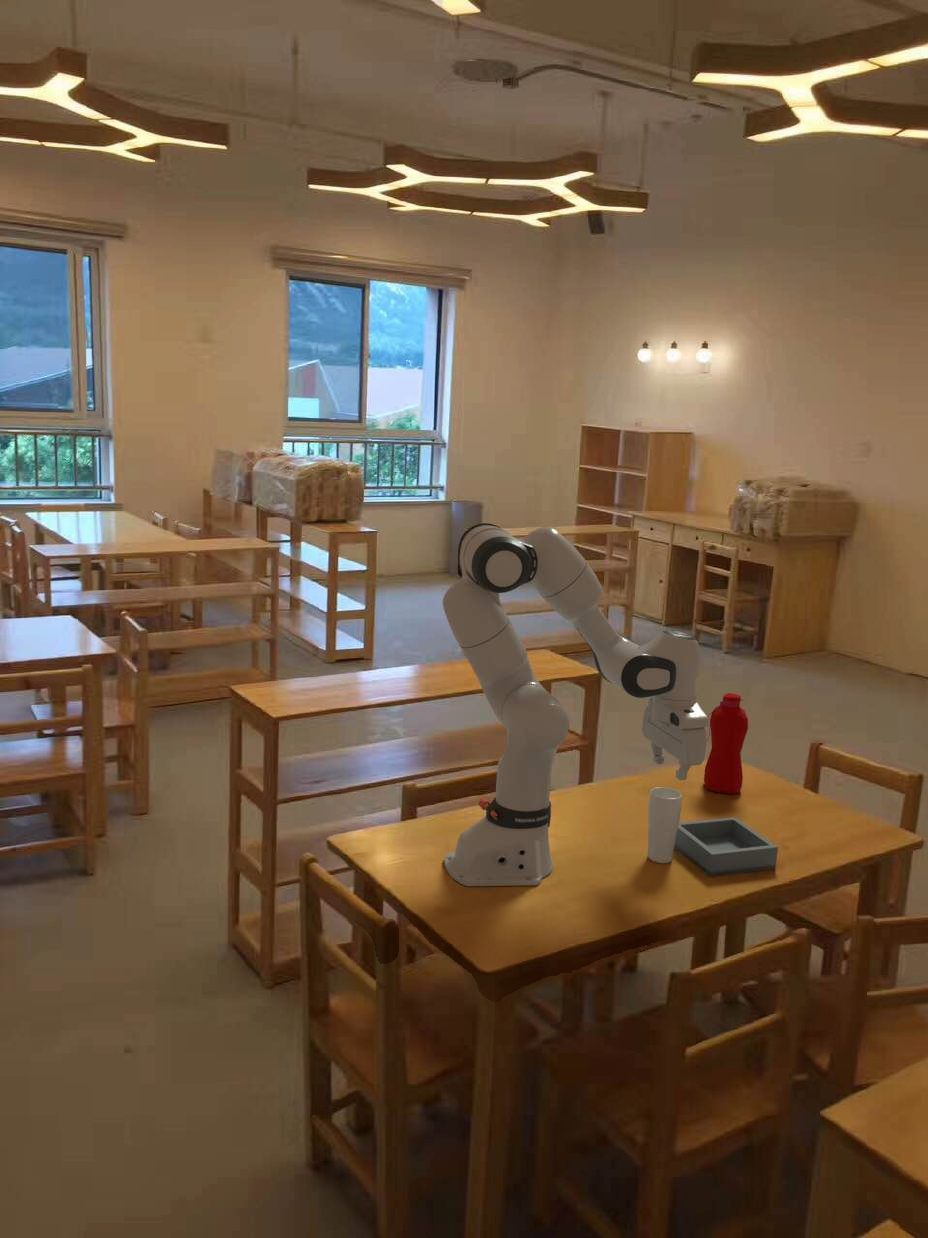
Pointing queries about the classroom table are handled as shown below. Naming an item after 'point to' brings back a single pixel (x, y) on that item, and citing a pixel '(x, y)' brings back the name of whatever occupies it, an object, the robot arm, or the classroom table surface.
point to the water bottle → (726, 746)
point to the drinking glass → (663, 823)
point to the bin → (725, 847)
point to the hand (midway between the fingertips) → (669, 771)
